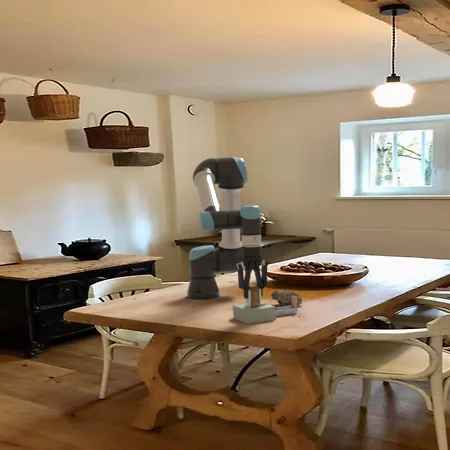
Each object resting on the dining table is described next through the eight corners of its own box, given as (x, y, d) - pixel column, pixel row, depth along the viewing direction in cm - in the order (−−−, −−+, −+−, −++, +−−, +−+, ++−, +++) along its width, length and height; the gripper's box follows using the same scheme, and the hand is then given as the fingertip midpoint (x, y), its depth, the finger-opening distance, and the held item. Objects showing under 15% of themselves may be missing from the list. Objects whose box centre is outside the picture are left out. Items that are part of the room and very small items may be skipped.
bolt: (275, 313, 244) (274, 298, 244) (294, 310, 248) (293, 295, 247) (278, 314, 242) (277, 299, 242) (297, 311, 246) (296, 296, 246)
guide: (264, 315, 243) (264, 309, 243) (290, 311, 249) (289, 305, 248) (270, 317, 239) (270, 311, 239) (296, 313, 244) (296, 307, 244)
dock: (233, 317, 241) (232, 305, 241) (259, 313, 247) (259, 301, 246) (248, 323, 230) (247, 310, 230) (275, 319, 236) (275, 306, 235)
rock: (269, 290, 264) (277, 290, 255) (293, 288, 267) (302, 288, 258) (270, 307, 264) (278, 307, 254) (295, 304, 267) (304, 305, 257)
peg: (247, 316, 239) (246, 286, 238) (256, 315, 241) (255, 285, 240) (252, 318, 236) (251, 287, 235) (261, 317, 238) (260, 286, 237)
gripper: (236, 248, 229) (238, 310, 231) (275, 244, 237) (277, 304, 239) (227, 246, 236) (229, 306, 238) (265, 243, 243) (267, 301, 245)
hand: (253, 305), depth 238 cm, fingers closed on peg, 4 cm apart
